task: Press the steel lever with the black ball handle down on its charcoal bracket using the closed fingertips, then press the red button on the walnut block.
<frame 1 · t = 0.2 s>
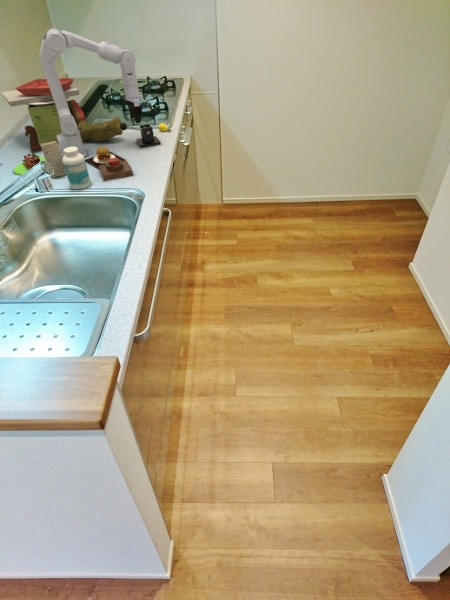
hand: (136, 119, 169), 10 cm above the counter, tool pointing down, fingers open, 7 cm apart
protein box: (58, 139, 183), on the counter, touching plate
brown lump green base: (36, 168, 159), on the counter
light bulb: (163, 129, 185), point 1 cm above the counter
vhs tape: (65, 115, 203), point 2 cm above the counter
bracket: (148, 143, 176), on the counter
hamburger: (105, 161, 163), on the counter
lever: (135, 128, 170), point 7 cm above the counter, hinge at 18.0°
plate: (45, 101, 173), point 16 cm above the counter, touching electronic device, protein box
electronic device: (40, 95, 173), point 18 cm above the counter, touching plant saucer, plate
stone tool: (100, 122, 180), point 6 cm above the counter
plant saucer: (47, 91, 171), point 20 cm above the counter, touching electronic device
button: (113, 162, 151), point 4 cm above the counter, slide at 0.1 cm
button block: (116, 173, 154), on the counter
chess piece: (37, 150, 173), on the counter
carving: (59, 175, 153), on the counter
pill bottle: (81, 186, 147), on the counter
decorative object: (82, 124, 179), point 6 cm above the counter
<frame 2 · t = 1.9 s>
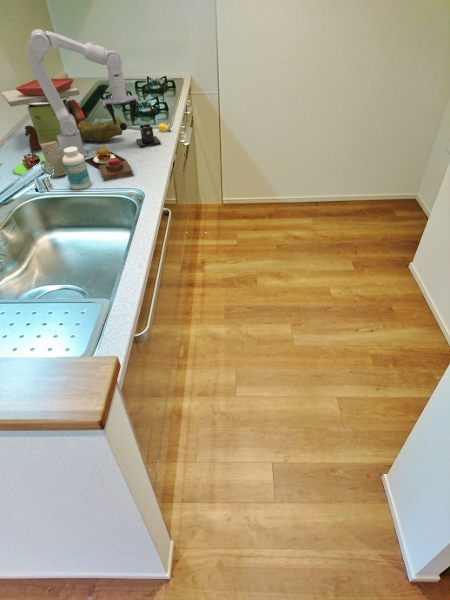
hand: (124, 121, 167), 10 cm above the counter, tool pointing down, fingers open, 7 cm apart
nothing on the counter moved.
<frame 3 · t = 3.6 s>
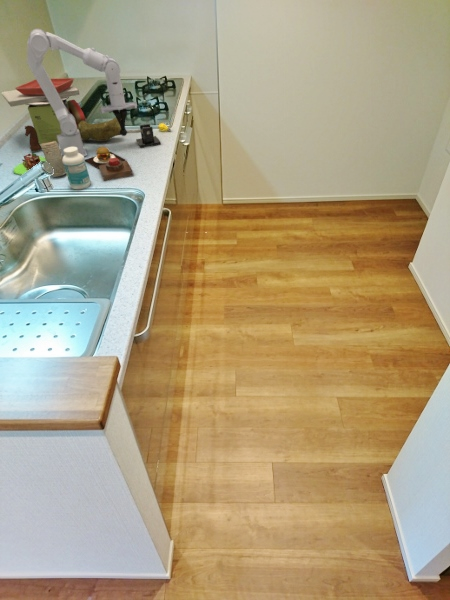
hand: (122, 128, 168), 8 cm above the counter, tool pointing down, fingers closed, pressing on lever
lever: (134, 131, 171), point 6 cm above the counter, hinge at 4.9°, touching gripper
everything else where it was.
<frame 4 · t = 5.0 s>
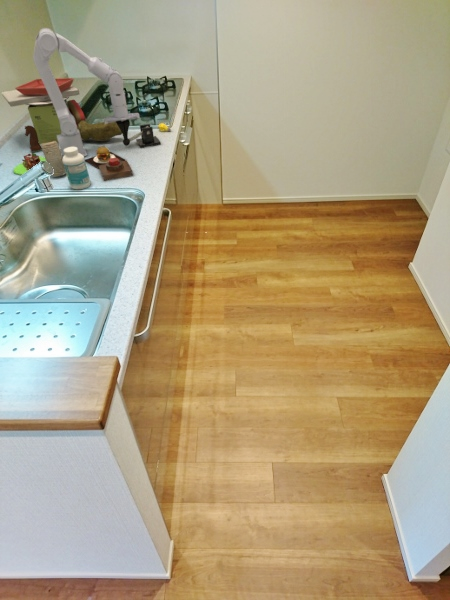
hand: (125, 138, 171), 4 cm above the counter, tool pointing down, fingers closed, pressing on lever
lever: (136, 136, 172), point 4 cm above the counter, hinge at -19.5°, touching gripper
everything else where it was.
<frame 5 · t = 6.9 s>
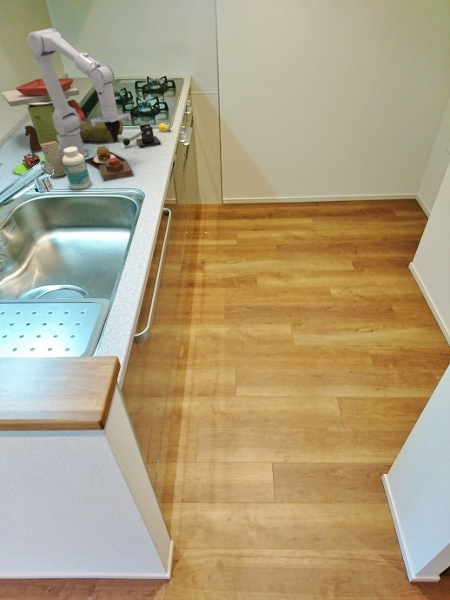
hand: (115, 141, 154), 9 cm above the counter, tool pointing down, fingers closed
lever: (136, 136, 172), point 4 cm above the counter, hinge at -19.5°
everything else where it was.
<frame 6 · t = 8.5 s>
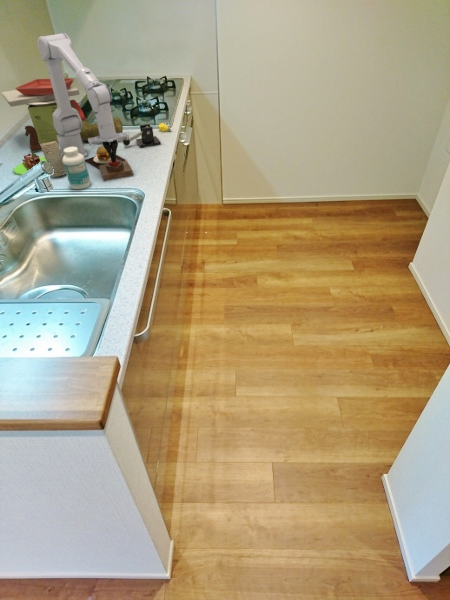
hand: (113, 161, 150), 5 cm above the counter, tool pointing down, fingers closed, pressing on button
button: (114, 163, 151), point 4 cm above the counter, slide at -0.4 cm, touching gripper
everything else where it was.
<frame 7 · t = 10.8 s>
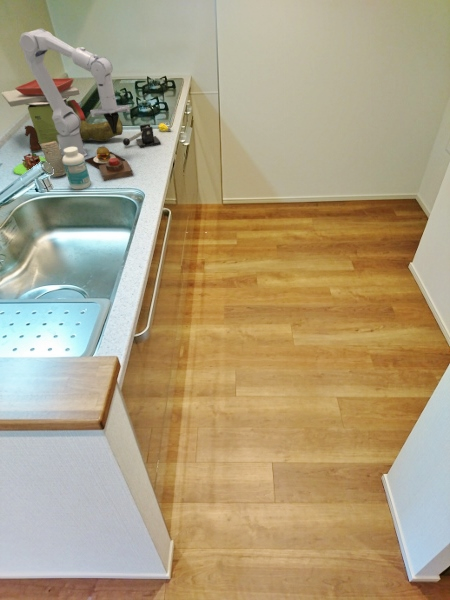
hand: (114, 133, 158), 10 cm above the counter, tool pointing down, fingers closed
button: (113, 162, 151), point 4 cm above the counter, slide at 0.1 cm
everything else where it was.
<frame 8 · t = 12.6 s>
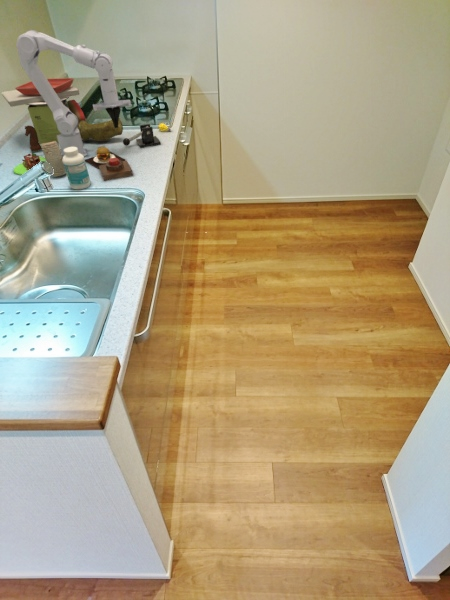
hand: (116, 127, 162), 10 cm above the counter, tool pointing down, fingers closed
nothing on the counter moved.
at the end: lever at -20° (first picture: +18°); button pushed in 1.2 cm at the most during the clip, back to where it started at the end; button slide at 0.1 cm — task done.
